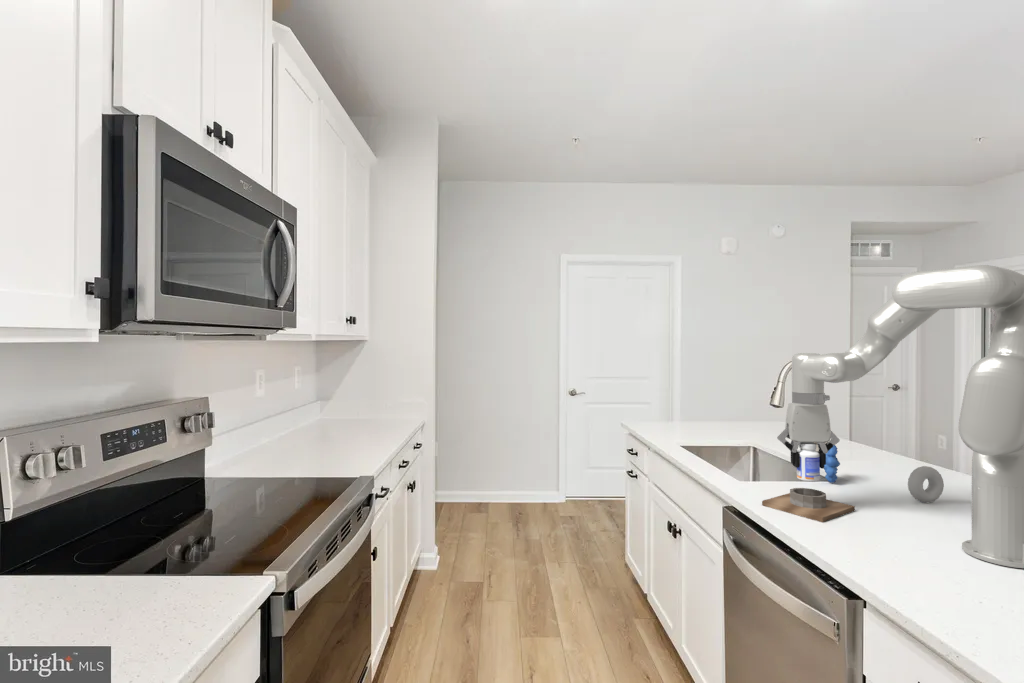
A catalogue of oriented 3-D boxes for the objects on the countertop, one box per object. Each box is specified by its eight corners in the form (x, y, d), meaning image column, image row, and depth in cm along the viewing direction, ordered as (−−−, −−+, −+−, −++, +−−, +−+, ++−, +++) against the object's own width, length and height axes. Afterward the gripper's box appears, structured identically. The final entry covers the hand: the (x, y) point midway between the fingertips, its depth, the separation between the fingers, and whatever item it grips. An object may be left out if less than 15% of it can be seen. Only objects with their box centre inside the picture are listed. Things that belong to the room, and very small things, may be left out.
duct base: (854, 510, 139) (854, 494, 139) (822, 522, 131) (822, 505, 131) (794, 495, 153) (794, 481, 153) (762, 505, 144) (762, 489, 144)
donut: (935, 499, 149) (935, 464, 149) (947, 503, 145) (947, 467, 145) (904, 501, 147) (904, 465, 147) (915, 505, 144) (915, 468, 144)
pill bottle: (823, 479, 141) (823, 443, 141) (814, 483, 138) (814, 446, 138) (802, 475, 145) (802, 440, 145) (792, 479, 142) (792, 442, 142)
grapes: (816, 475, 175) (816, 439, 175) (840, 478, 171) (840, 441, 171) (814, 483, 165) (814, 445, 165) (840, 487, 161) (840, 447, 161)
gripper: (837, 398, 144) (837, 465, 144) (769, 397, 147) (769, 462, 147) (849, 401, 136) (849, 471, 136) (777, 400, 140) (777, 469, 140)
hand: (808, 466), depth 142 cm, fingers closed on pill bottle, 5 cm apart
